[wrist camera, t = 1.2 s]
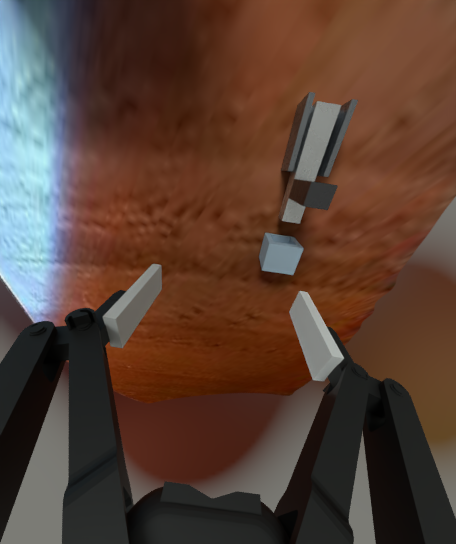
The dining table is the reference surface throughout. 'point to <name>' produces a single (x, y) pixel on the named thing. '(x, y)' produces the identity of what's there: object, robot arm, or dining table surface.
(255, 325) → the dining table surface
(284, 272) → the socket
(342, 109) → the open u-shaped channel
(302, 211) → the gray bent bar
